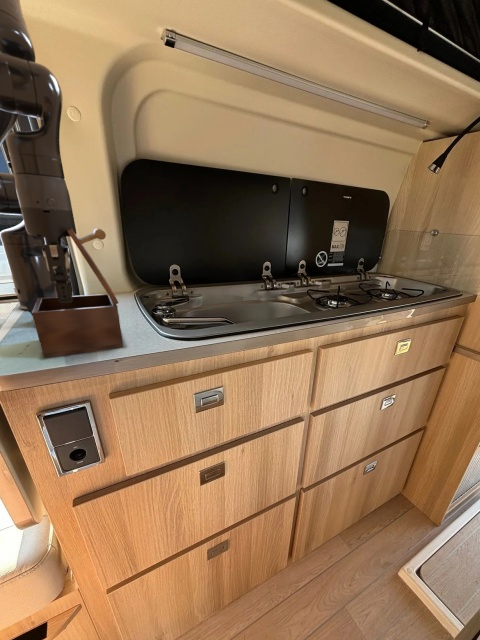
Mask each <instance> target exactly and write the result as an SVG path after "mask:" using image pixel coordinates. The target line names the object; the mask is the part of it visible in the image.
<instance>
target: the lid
mask: <svg viewBox="0 0 480 640" xmlns="http://www.w3.org/2000/svg"><path fill="white" fill-rule="evenodd" d="M67 232H68V233H69V235H70V236H71V237H70V238H71V240H72V241H73V242H74V244H75V246H76V247H77V248H78V250H79V252H80V254H81V255H82V256H83V258H84V259H85V261H86V262H87V264H88V266H89V268H90V269H91V270H92V272H93V274H94V275H95V277H96V278H97V280H98V282H99V283H100V284H101V285H102V287H103V289H104V290H105V292H106V294H108V295H109V296H110V298H111V299H112V301H113V303H114V304H115V305H119V300H118V298H117V296H116V295H115V293H114V291H113V289H112V287H111V286H110V285H109V283H108V282H107V280H106V278H105V277H104V275H103V273H102V271H101V270H100V268H99V267H98V266H97V264H96V262H95V261H94V259H93V258H92V256H91V255H90V253H89V252H88V250H87V248H86V246H85V245H84V244H86V243H89V242H91V241H93V240H96V239H97V240H101V241H103V240H104V239H106V235H107V234H106V232H105V231H104V230H103V229H101V228H98V227H97V228H96V227H95V228H94V229H93V232H92V233H89V234H87V235H84V236H82V237H79V236H78V234H75V232H74V231H73V229H69V230H67Z"/></svg>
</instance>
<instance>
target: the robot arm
mask: <svg viewBox="0 0 480 640" xmlns="http://www.w3.org/2000/svg"><path fill="white" fill-rule="evenodd" d="M62 112H63V92H62V88H61V85H60V83H59V80H58V79H57V77H56V76H55V75H54V73H53V72H52V71H51V69H49V68H48V67H47V66H45V65H43V64H42V63H38V62H36V53H35V47H34V45H33V41H32V38H31V35H30V32H29V29H28V26H27V23H26V19H25V17H24V14H23V10H22V4H21V0H0V148H1V146H2V145H3V144H4V142H5V144H6V147H7V152H8V155H9V159H10V163H11V167H12V172H13V173H7V172H0V215H8V216H9V215H10V216H12V215H13V216H22V221H21V222H20V223H18V224H17V225H15V226H12V227H10V228H9V227H8V228H6V229H3V230H1V231H0V240H1V244H2V247H3V251H4V255H5V259H6V261H7V265H8V268H9V272H10V276H11V279H12V282H13V285H14V287H13V290H14V293H15V294H16V297H17V300H18V304H19V309H21V310H25V311H29V310H28V309H27V307H26V306H25V302H27V301H33V300H37V299H38V298H48V297H56V296H57V297H58V301H59V303H62V304H63V303H72V302H73V299H72V296H73V294H72V293H73V291H74V290H73V286H72V280H71V275H70V274H71V271H72V270H71V266H72V265H71V259H70V256H71V253H70V248H69V246H68V245H65V244H66V242H65V241H64V239H63V238H64V237H65V238H67V237H70V238H71V236H70V235H69V233H68V232H67V230H69V229H73V231H74V232H75V234H77V227H76V222H75V217H74V212H73V206H72V201H71V200H72V199H71V196H70V192H69V189H68V185H67V182H66V177H65V171H64V167H63V166H64V165H63V162H62V156H61V155H62V154H61V145H60V129H61V120H62ZM19 115H20V116H26V117H29V118H35V119H38V120H39V121H40V126H39V128H38V129H35V130H15V131H12V130H13V128H14V127H15V125H16V123H17V121H18V118H19ZM77 235H78V234H77Z"/></svg>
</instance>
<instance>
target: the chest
mask: <svg viewBox="0 0 480 640" xmlns="http://www.w3.org/2000/svg"><path fill="white" fill-rule="evenodd" d="M72 299H73V302H72V303H63V304H62V303H59V301H58V297H48V298H38V299H37V302H36V304H35V307H34V309H33V312H32V315H31V317H32V319H33V323H34V326H35V327H34V328H35V331H36V334H37V337H38V341H39V344H40V348H41V352H42V356H43V359H49V358H56V357H63V356H69V355H71V356H72V355H76V354H85V353H91V352H97V351H103V350H112V349H119V348H124V342H123V341H124V340H123V334H122V330H121V329H122V328H121V322H120V315H119V309H118V304H116V305H115V304H114V303H113V301H112V299H111V298H110V296H109V295H108V293H100V294H98V293H97V294H83V295H72Z"/></svg>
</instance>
